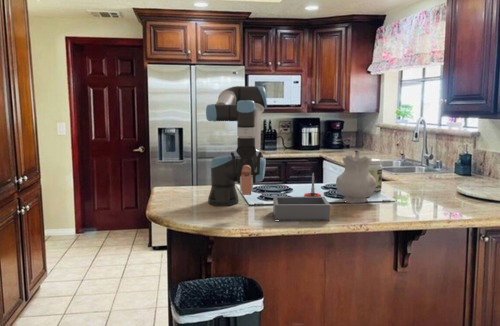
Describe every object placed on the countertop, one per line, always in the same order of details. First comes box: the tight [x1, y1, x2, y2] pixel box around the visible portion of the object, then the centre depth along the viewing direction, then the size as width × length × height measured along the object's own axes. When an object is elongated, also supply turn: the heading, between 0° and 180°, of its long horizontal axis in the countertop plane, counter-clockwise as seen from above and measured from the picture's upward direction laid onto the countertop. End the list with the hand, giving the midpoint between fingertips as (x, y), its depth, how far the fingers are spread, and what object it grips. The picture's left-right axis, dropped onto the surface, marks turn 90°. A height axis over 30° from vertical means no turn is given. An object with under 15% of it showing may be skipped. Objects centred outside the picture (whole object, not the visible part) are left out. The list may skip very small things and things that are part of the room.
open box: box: [272, 196, 331, 222], centre depth 186 cm, size 23×15×7 cm, turn 89°
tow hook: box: [304, 172, 322, 197], centre depth 223 cm, size 8×13×9 cm
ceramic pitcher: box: [335, 148, 376, 204], centre depth 213 cm, size 22×20×25 cm
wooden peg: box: [241, 165, 252, 196], centre depth 184 cm, size 4×6×12 cm, turn 179°
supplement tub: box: [368, 158, 383, 192], centre depth 237 cm, size 12×12×17 cm
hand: (246, 190), depth 185 cm, fingers closed on wooden peg, 4 cm apart
